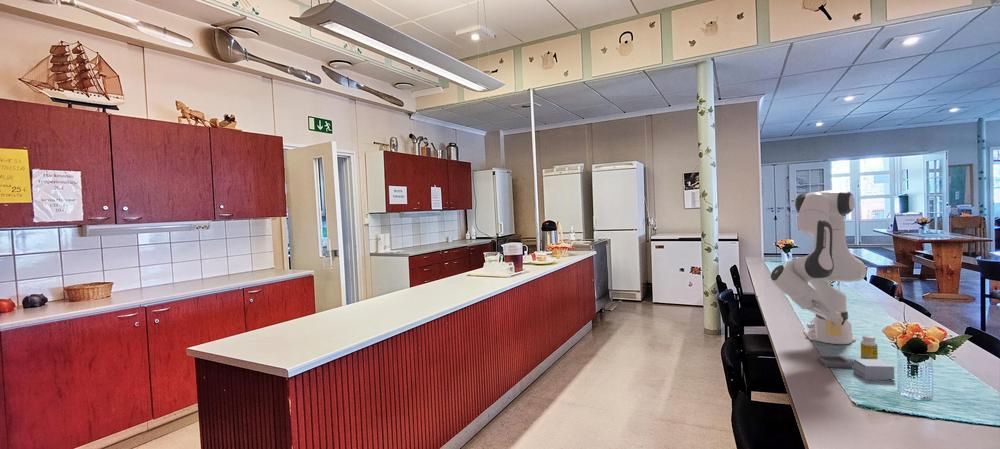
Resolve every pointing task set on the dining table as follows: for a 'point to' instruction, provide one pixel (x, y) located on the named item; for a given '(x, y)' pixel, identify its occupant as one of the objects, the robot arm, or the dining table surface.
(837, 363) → the dish
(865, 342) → the supplement bottle
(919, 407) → the dining table surface
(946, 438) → the dining table surface
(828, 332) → the stub
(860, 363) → the block
